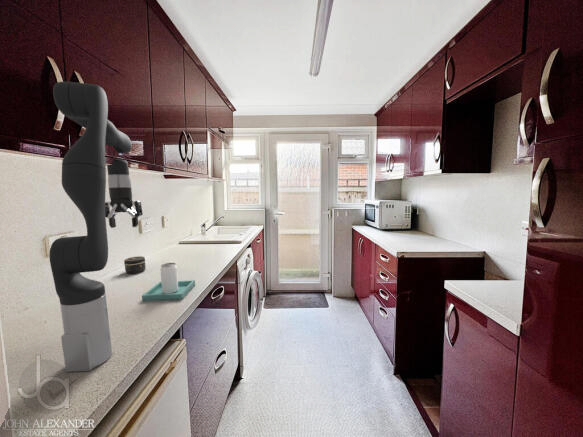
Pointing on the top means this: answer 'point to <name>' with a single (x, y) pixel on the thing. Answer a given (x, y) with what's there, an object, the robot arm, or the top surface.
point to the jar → (134, 265)
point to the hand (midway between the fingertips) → (124, 227)
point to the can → (169, 278)
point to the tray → (157, 294)
